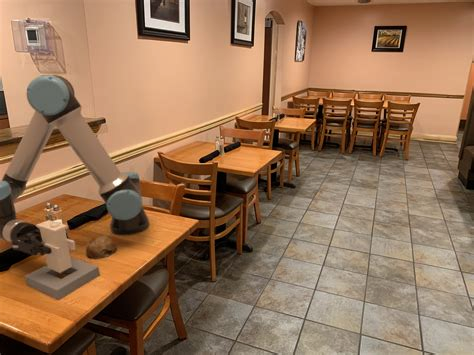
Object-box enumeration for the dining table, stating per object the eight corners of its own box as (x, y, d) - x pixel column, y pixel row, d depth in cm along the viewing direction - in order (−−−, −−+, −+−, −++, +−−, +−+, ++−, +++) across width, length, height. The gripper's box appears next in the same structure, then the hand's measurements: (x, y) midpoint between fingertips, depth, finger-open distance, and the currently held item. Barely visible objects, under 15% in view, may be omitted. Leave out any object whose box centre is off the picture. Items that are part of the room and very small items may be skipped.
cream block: (56, 260, 112) (48, 217, 108) (75, 267, 108) (66, 223, 103) (44, 266, 109) (35, 222, 104) (63, 274, 104) (54, 228, 100)
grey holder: (67, 263, 119) (66, 255, 118) (99, 275, 111) (98, 266, 110) (26, 284, 108) (24, 276, 107) (58, 299, 100) (57, 290, 99)
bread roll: (96, 270, 121) (100, 253, 118) (78, 252, 125) (80, 235, 121) (119, 257, 129) (123, 241, 126) (101, 240, 133) (104, 224, 129)
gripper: (48, 233, 123) (93, 248, 111) (-4, 255, 109) (41, 274, 97) (44, 213, 121) (89, 226, 109) (-10, 233, 107) (36, 250, 95)
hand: (66, 249), depth 103 cm, fingers closed on cream block, 4 cm apart
